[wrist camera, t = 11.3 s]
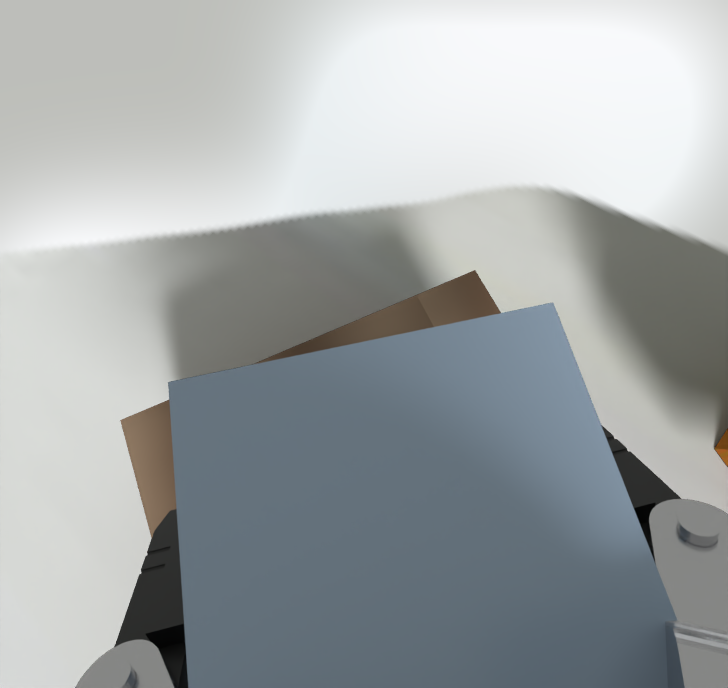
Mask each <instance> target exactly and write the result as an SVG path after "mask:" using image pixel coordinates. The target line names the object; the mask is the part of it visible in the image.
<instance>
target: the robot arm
mask: <svg viewBox="0 0 728 688" xmlns="http://www.w3.org/2000/svg"><path fill="white" fill-rule="evenodd" d="M601 426H602V425H601ZM602 429H603V431H604V434H605V436H606V439H607V441H608V444H609V446H610V449H611V452H612V454H613V457H614V459H615V462H616V464H617V467H618V469H619V472H620V475H621V477H622V480H623V482H624V485H625V487H626V490H627V492H628V495H629V498H630V500H631V503H632V505H633V508H634V510H635V513H636V515H637V518H638V521H639V523H640V526H641V528H642V531H643V533H644V536H645V538H646V541H647V543H648V546H649V549H650V551H651V554H652V556H653V559H654V561H655V564H656V566H657V569H658V572H659V574H660V577H661V579H662V582H663V584H664V587H665V589H666V592H667V595H668V597H669V600H670V602H671V605H672V607H673V610H674V612H675V615H676V618H677V620H675V621H665V632H666V656H667V679H668V688H728V514H727V513H725V512H724V511H722V510H720V509H718V508H716V507H714V506H712V505H709V504H706V503H703V502H699V501H695V500H688V499H681V498H680V497H679V496H678V495H677V494H676V493H675V492H674V491H673V490H671V489H670V488H669V487H668V486H667V485H666V484H665V483H664V482H663V481H662V480H661V479H660V478H658V477H657V476H656V475H655V474H654V473H653V472H652V471H651V470H650V469H649V468H648V467H646V466H645V465H644V464H643V463H642V462H641V461H640V460H639V459H638V458H637V457H636V456H635V455H633V454H632V453H631V452H628V451H627V448H626V447H625V446H624V445H623V444H622V443H620V442H619V441H618V440H617V439H614V436H613V435H612V434H611V433H610V432H609V431H607V430H606V429H605V428H604V427H603V426H602ZM147 553H148V555H147V556H146V557H145V560H144V563H143V566H142V568H141V572H142V573H141V574H139V577H138V580H137V583H136V586H135V589H134V592H133V595H132V598H131V600H130V603H129V606H128V609H127V612H126V615H125V618H124V621H123V624H122V627H121V630H120V633H119V635H118V638H117V641H116V644H115V646H114V648H112V649H111V650H109V651H108V652H106V653H105V654H104V655H102V656H101V657H100V658H99V659H98V660H97V661H95V662H94V663H93V664H92V665H91V666H90V668H89V669H88V670H87V671H86V672H85V673H84V675H83V676H82V678H81V679H80V680H79V682H78V684H77V685H76V687H75V688H188V674H187V659H186V644H185V629H184V614H183V599H182V584H181V568H180V553H179V538H178V523H177V509H174V510H170V511H169V512H168V514H167V515H166V516H165V518H164V519H163V520H162V522H161V523H160V524H159V526H158V527H157V528H156V529H155V531H154V533H153V536H152V539H151V542H150V545H149V548H148V551H147Z"/></svg>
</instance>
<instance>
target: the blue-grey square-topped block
mask: <svg viewBox="0 0 728 688" xmlns="http://www.w3.org/2000/svg"><path fill="white" fill-rule="evenodd" d="M168 387H169V402H170V417H171V432H172V447H173V462H174V477H175V493H176V508H177V523H178V538H179V553H180V568H181V584H182V599H183V614H184V629H185V644H186V659H187V674H188V688H668V679H667V656H666V632H665V621H675V620H677V618H676V615H675V612H674V610H673V607H672V605H671V602H670V600H669V597H668V595H667V592H666V589H665V587H664V584H663V582H662V579H661V577H660V574H659V572H658V569H657V566H656V564H655V561H654V559H653V556H652V554H651V551H650V549H649V546H648V543H647V541H646V538H645V536H644V533H643V531H642V528H641V526H640V523H639V521H638V518H637V515H636V513H635V510H634V508H633V505H632V503H631V500H630V498H629V495H628V492H627V490H626V487H625V485H624V482H623V480H622V477H621V475H620V472H619V469H618V467H617V464H616V462H615V459H614V457H613V454H612V452H611V449H610V446H609V444H608V441H607V439H606V436H605V434H604V431H603V429H602V426H601V424H600V421H599V418H598V416H597V413H596V411H595V408H594V406H593V403H592V401H591V398H590V395H589V393H588V390H587V388H586V385H585V383H584V380H583V378H582V375H581V372H580V370H579V367H578V365H577V362H576V360H575V357H574V355H573V352H572V349H571V347H570V344H569V342H568V339H567V337H566V334H565V332H564V329H563V327H562V324H561V321H560V319H559V316H558V314H557V311H556V309H555V306H554V304H553V303H548V304H543V305H538V306H534V307H529V308H524V309H519V310H514V311H509V312H505V313H500V314H495V315H490V316H485V317H480V318H476V319H471V320H466V321H461V322H456V323H451V324H447V325H442V326H437V327H432V328H427V329H422V330H418V331H413V332H408V333H403V334H398V335H393V336H389V337H384V338H379V339H374V340H369V341H364V342H360V343H355V344H350V345H345V346H340V347H335V348H331V349H326V350H321V351H316V352H311V353H306V354H302V355H297V356H292V357H287V358H282V359H277V360H273V361H268V362H263V363H258V364H253V365H248V366H244V367H239V368H234V369H229V370H224V371H219V372H215V373H210V374H205V375H200V376H195V377H190V378H186V379H181V380H176V381H171V382H168Z"/></svg>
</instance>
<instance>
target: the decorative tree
mask: <svg viewBox="0 0 728 688" xmlns="http://www.w3.org/2000/svg"><path fill="white" fill-rule="evenodd" d="M714 449H715V450H716V452H717V453H718V454H719V456H720V457H721V458H722V460H723V461H724V462H725V464H726V465H727V466H728V429H727V430H726V432H725V433H724V435H723V436H722V438H721V439H720V441H719V442H718V444H717V445H716V447H715V448H714Z"/></svg>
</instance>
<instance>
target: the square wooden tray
mask: <svg viewBox="0 0 728 688" xmlns="http://www.w3.org/2000/svg"><path fill="white" fill-rule="evenodd" d="M500 313H501V312H500V311H499V309H498V307H497V306H496V304H495V302H494V301H493V299H492V297H491V296H490V294H489V292H488V291H487V289H486V287H485V286H484V284H483V283H482V281H481V279H480V278H479V276H478V274H477V273H476V271H475V270H474V271H472V272H470V273H467V274H465V275H463V276H460V277H458V278H455V279H453V280H451V281H448V282H446V283H444V284H441V285H439V286H437V287H434V288H432V289H429V290H427V291H425V292H422V293H420V294H418V295H415V296H413V297H411V298H408V299H406V300H403V301H401V302H399V303H396V304H394V305H392V306H389V307H387V308H385V309H382V310H380V311H377V312H375V313H373V314H370V315H368V316H366V317H363V318H361V319H359V320H356V321H354V322H351V323H349V324H347V325H344V326H342V327H340V328H337V329H335V330H333V331H330V332H328V333H326V334H323V335H321V336H318V337H316V338H314V339H311V340H309V341H307V342H304V343H302V344H300V345H297V346H295V347H292V348H290V349H288V350H285V351H283V352H281V353H278V354H276V355H274V356H271V357H269V358H266V359H264V360H262V361H259V362H257V363H255V364H258V363H263V362H268V361H273V360H277V359H282V358H287V357H292V356H297V355H302V354H306V353H311V352H316V351H321V350H326V349H331V348H335V347H340V346H345V345H350V344H355V343H360V342H364V341H369V340H374V339H379V338H384V337H389V336H393V335H398V334H403V333H408V332H413V331H418V330H422V329H427V328H432V327H437V326H442V325H447V324H451V323H456V322H461V321H466V320H471V319H476V318H480V317H485V316H490V315H495V314H500ZM252 365H253V364H252ZM120 421H121V424H122V428H123V432H124V436H125V439H126V443H127V447H128V451H129V454H130V458H131V462H132V466H133V470H134V473H135V477H136V481H137V485H138V488H139V492H140V496H141V500H142V503H143V507H144V511H145V515H146V519H147V522H148V526H149V530H150V534H151V537H152V536H153V533H154V531H155V529H156V528H157V527H158V526H159V524H160V523H161V522H162V520H163V519H164V518H165V516H166V515H167V514H168V512H169V511H170V510H174V509H177V508H176V493H175V477H174V462H173V447H172V432H171V417H170V402H169V400H167V401H165V402H163V403H160V404H158V405H155V406H153V407H151V408H148V409H146V410H144V411H141V412H139V413H137V414H134V415H132V416H129V417H127V418H125V419H122V420H120Z"/></svg>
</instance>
